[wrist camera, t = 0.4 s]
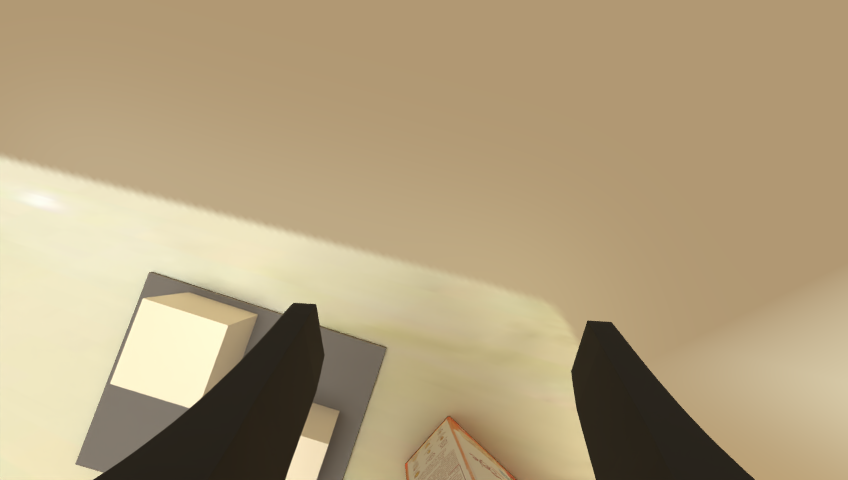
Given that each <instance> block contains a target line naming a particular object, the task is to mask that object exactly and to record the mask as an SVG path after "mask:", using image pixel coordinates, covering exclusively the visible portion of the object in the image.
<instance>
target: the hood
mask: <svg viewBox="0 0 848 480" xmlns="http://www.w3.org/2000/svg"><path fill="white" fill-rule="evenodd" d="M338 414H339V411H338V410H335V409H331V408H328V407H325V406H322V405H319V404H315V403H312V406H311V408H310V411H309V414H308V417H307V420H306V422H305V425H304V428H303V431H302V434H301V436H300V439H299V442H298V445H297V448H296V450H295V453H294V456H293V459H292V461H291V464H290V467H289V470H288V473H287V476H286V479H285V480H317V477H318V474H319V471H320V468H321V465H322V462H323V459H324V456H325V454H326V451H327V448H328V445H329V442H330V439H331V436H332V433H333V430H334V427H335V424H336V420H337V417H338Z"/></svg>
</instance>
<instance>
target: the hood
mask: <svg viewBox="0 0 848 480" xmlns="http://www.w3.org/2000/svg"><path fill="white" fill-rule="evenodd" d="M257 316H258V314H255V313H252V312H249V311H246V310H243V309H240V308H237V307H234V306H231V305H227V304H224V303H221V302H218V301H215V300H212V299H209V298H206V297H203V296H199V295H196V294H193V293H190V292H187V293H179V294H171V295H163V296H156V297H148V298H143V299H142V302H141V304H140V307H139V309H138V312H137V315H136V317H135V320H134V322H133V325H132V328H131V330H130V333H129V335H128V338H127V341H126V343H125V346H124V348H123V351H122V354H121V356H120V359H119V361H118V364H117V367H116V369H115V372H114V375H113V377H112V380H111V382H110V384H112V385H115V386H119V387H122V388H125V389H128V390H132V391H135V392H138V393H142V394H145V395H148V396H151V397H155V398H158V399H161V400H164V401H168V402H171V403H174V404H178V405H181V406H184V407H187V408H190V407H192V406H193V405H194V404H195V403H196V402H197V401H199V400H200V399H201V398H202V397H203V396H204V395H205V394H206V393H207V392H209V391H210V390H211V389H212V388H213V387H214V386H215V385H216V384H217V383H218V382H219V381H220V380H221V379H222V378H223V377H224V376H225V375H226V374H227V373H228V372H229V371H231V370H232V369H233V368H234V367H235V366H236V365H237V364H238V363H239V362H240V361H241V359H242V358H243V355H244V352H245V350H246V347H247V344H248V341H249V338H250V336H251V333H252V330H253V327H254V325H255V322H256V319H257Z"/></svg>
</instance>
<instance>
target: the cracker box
mask: <svg viewBox="0 0 848 480" xmlns="http://www.w3.org/2000/svg"><path fill="white" fill-rule="evenodd" d="M405 469H406V479H407V480H516V479H515V478H514V477H513V476H512V475H511V474H510V473H509V472H507V471H506V470H505V469H504V468H503V467H502V466H501V465H500V464H499V463H498V462H497V461H496V460H495V459H494V458H493V457H492V456H491V455H490V454H489V453H488V452H487V451H486V450H484V449H483V448H482V447H481V446H480V445H479V444H478V443H477V442H476V441H475V440H474V439H473V438H472V437H471V436H470V435H469V434H468V433H467V432H465V431H464V430H463V429H462V428H461V427H460V426H459V425H458V424H457V423H456V422H455V421H454V420H453V419H452V418H451V417H447V418H446V420H445V421H444V422H443V423H442V424H441V425H440V426H439V427H438V428H437V429H436V431H435V432H434V433H433V434H432V435H431V436H430V437H429V438H428V440H427V441H426V442H425V443H424V444H423V445H422V446H421V447H420V449H419V450H418V451H417V452H416V453H415V454H414V455H413V456H412V458H411V459H410V460H409V461H408V462H407V463H406V464H405Z"/></svg>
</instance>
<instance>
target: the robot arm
mask: <svg viewBox="0 0 848 480" xmlns="http://www.w3.org/2000/svg"><path fill="white" fill-rule="evenodd" d="M324 356H325V354H324V348H323V343H322V337H321V331H320V325H319V319H318V313H317V307H316V304H302V303H293V304H292V305H291V306H290V307H289V308H288V309H287V310H286V311H285V313H284V314H283V315H282V316H281V317H280V318H279V319H278V321H277V322H276V323H275V324H274V325H273V326H272V327H271V328H270V330H269V331H268V332H267V333H266V334H265V335H264V336H263V337H262V338H261V339H260V341H259V342H258V343H257V344H256V345H255V346H254V347H253V348H252V349H251V350H250V351H249V352H248V353H247V354H246V355H245V356H244V357H243V358H242V359H241V361H240V362H239V363H238V364H237V365H236V366H235V367H234V368H233V369H232V370H231V371H229V372H228V373H227V374H226V375H225V376H224V377H223V378H222V379H221V380H220V381H219V382H218V383H217V384H216V385H215V386H214V387H213V388H212V389H211V390H210V391H209V392H207V393H206V394H205V395H204V396H203V397H202V398H201V399H200V400H199V401H197V402H196V403H195V404H194V405H193V406H192V407H190V408H189V409H188V410H187V411H186V412H185V413H183V414H182V415H181V416H180V417H179V418H177V419H176V420H175V421H174V422H172V423H171V424H170V425H169V426H167V427H166V428H165V429H164V430H162V431H161V432H160V433H158V434H157V435H156V436H154V437H153V438H152V439H151V440H149V441H148V442H147V443H145V444H144V445H143V446H141V447H140V448H139V449H137V450H136V451H135V452H133V453H132V454H130V455H129V456H128V457H126V458H125V459H123V460H122V461H120V462H119V463H117V464H116V465H115V466H113V467H112V468H110V469H109V470H107V471H106V472H104V473H103V474H101V475H100V476H98V477H97V478H95V479H94V480H285V479H286V476H287V473H288V470H289V467H290V464H291V461H292V459H293V456H294V453H295V450H296V448H297V445H298V442H299V439H300V436H301V434H302V431H303V428H304V425H305V422H306V420H307V417H308V414H309V411H310V408H311V406H312V403H313V400H314V397H315V394H316V391H317V387H318V383H319V379H320V374H321V370H322V365H323V361H324ZM571 373H572V381H573V388H574V395H575V401H576V407H577V412H578V416H579V420H580V423H581V427H582V431H583V434H584V438H585V442H586V445H587V449H588V453H589V456H590V460H591V463H592V467H593V471H594V474H595V478H596V480H755V479H754V478H753V477H751V476H750V475H749V474H748V473H747V472H746V471H745V470H743V468H742V467H740V466H739V465H738V464H737V463H736V462H735V461H734V460H733V459H732V458H731V457H730V456H729V455H728V454H727V453H726V452H725V451H724V450H722V449H721V448H720V447H719V446H718V445H717V444H716V443H715V442H714V441H713V440H712V439H711V438H710V437H709V436H708V435H707V434H706V433H705V432H704V431H703V430H702V429H701V428H700V426H699V425H698V424H697V423H696V422H695V421H694V420H693V419H692V418H691V417H690V416H689V415H688V414H687V413H686V411H685V410H684V409H683V408H682V407H681V406H680V405H679V404H678V403H677V401H676V400H675V399H674V398H673V397H672V396H671V395H670V393H669V392H668V391H667V390H666V389H665V388H664V387H663V385H662V384H661V383H660V382H659V381H658V379H657V378H656V377H655V376H654V375H653V373H652V372H651V371H650V370H649V369H648V368H647V366H646V365H645V364H644V362H643V361H642V360H641V359H640V358H639V356H638V355H637V354H636V352H635V351H634V350H633V349H632V347H631V346H630V345H629V344H628V342H627V341H626V340H625V339H624V337H623V336H622V335H621V334H620V332H619V331H618V330H617V328H616V327H615V326H614V325H613V324H612V322H600V321H587V324H586V327H585V330H584V333H583V336H582V339H581V343H580V346H579V349H578V352H577V355H576V358H575V361H574V365H573V368H572V371H571Z"/></svg>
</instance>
